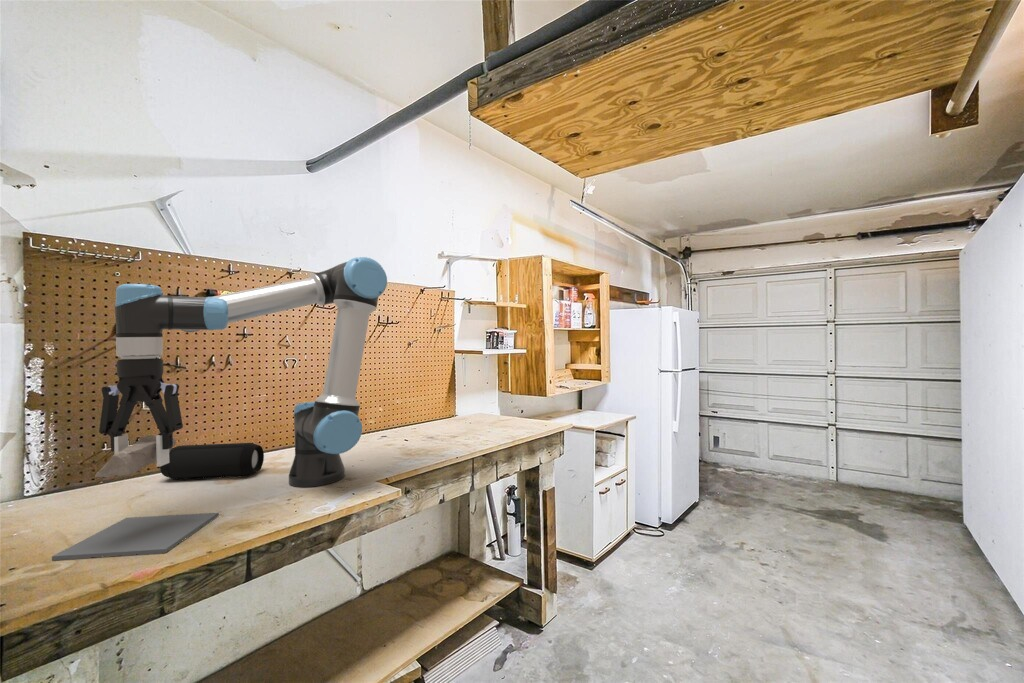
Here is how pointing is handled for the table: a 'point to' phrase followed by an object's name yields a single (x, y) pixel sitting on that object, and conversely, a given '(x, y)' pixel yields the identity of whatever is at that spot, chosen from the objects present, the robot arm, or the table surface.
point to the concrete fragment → (131, 458)
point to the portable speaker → (213, 461)
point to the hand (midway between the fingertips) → (142, 465)
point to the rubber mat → (138, 536)
